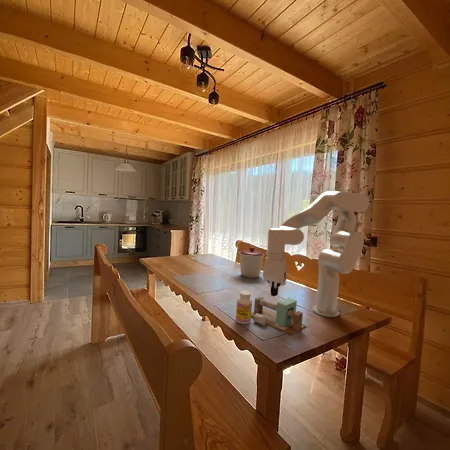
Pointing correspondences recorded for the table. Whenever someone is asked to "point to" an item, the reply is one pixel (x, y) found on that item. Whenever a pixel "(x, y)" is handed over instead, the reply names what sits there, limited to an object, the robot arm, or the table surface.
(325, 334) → the table surface
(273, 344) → the table surface
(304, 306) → the table surface
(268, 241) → the robot arm
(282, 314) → the collar
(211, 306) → the table surface
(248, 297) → the supplement bottle
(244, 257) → the canister
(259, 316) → the sleeve
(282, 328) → the pipe rig
